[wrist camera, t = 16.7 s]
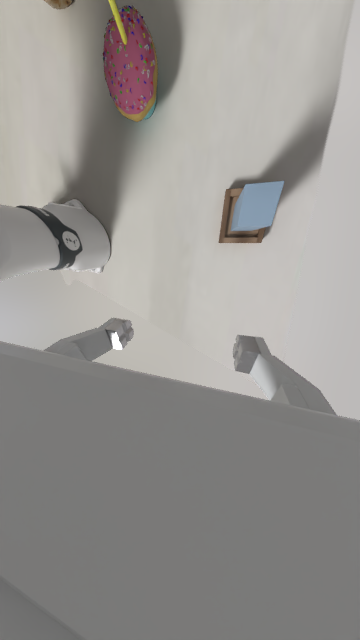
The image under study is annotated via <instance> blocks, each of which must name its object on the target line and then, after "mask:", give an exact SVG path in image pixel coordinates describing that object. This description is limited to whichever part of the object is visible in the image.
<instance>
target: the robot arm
mask: <svg viewBox="0 0 360 640" xmlns="http://www.w3.org/2000/svg"><path fill="white" fill-rule="evenodd" d="M109 257H110V242H109V238H108V235H107V233H106V231H105V229H104V227H103V226H102V224H101V223H100V222H99V221H98V220H97V218H95V217H94V216H93V215H92V214H90V213H89V212H88V211H87V210H86V209H85V207H84V206H83V205H82V203H81V202H80V201H79V200H76V199H72V200H70V201H68V202H66V203H64V204H57V203H49V204H48V205H46V206H44V207H43V208H42V209H40V208H37V207H32V206H17V207H12V206H6V205H0V282H1V281H4V280H6V279H8V278H11V277H14V276H18V275H22V274H26V273H31V272H35V271H40V270H46V269H49V270H60V269H65V270H72V271H77V272H79V271H85V270H87V271H91V272H94V273H101V272H102V270H103V266H104V265H105V264H106V262H107V261H108V259H109ZM131 326H132V324H131V321H130V320H125V319H118V318H111V319H110V320H108V321H107V322H106V323H104V324H103V325H101V326H100V327H99V328H95V329H92V330H88V331H85V332H82V333H80V334H76V335H74V336H70V337H68V338H64V339H61V340H59V341H58V342H56V343H55V344H53V345H52V346H50V347H48V348H47V349H45V350H44V351H42V350H37V349H32V348H28V347H24V346H19V345H15V344H10V343H6V342H2V341H0V640H360V420H356V419H351V418H347V417H342V416H338V415H336V413H335V412H334V410H333V409H332V407H331V406H330V404H329V403H328V401H327V400H326V399H325V397H324V396H323V394H322V393H321V391H320V390H319V389H318V388H317V387H315V386H314V385H312V384H311V383H310V382H309V381H307V380H306V379H305V378H303V377H302V376H301V375H299V374H298V373H296V372H295V371H294V370H293V369H291V368H290V367H289V366H287V365H286V364H285V363H283V362H282V361H281V360H279V359H278V358H277V357H275V356H272V355H271V353H270V351H269V349H268V347H267V345H266V343H265V341H264V339H263V338H262V337H252V336H244V335H237V337H236V343H235V344H234V347H233V358H234V359H235V361H234V365H235V371H239V372H243V373H248V374H249V375H250V376H251V377H252V379H253V380H254V381H255V382H256V384H257V385H258V386H259V387H260V389H261V390H262V391H263V393H264V394H265V395H266V396H267V397H268V399H269V400H270V401H269V400H265V399H260V398H256V397H251V396H246V395H242V394H238V393H233V392H228V391H224V390H219V389H214V388H210V387H206V386H201V385H197V384H192V383H188V382H182V381H179V380H174V379H169V378H165V377H160V376H156V375H151V374H147V373H142V372H137V371H133V370H128V369H124V368H119V367H115V366H110V365H106V364H101V363H97V362H92V360H94V359H96V358H97V357H99V356H101V355H103V354H104V353H106V352H108V351H109V350H111V349H113V348H115V349H121V350H122V349H123V348H124V347H125V346H126V345H127V342H128V341H130V340H131V339H132V338H133V335H134V331H133V329H132V327H131Z"/></svg>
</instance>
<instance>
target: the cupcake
mask: <svg viewBox="0 0 360 640" xmlns="http://www.w3.org/2000/svg"><path fill="white" fill-rule="evenodd" d="M108 1H109V3H110V6H111V9H112V12H113V17H112V18H111V19H110V20H109V23H108V24H107V26H108V27H106V33H105V35H104V38H105V42H104V52H103V56H104V58H103V61H104V72H105V79H106V82H107V85H108V88H109V91H110V95H111V97H112V98H113V101H114V103H115V105H116V107H117V109H118V110H119V111H120V113H121V114H122V115H123V116H125V117H126V118H128V119H132V120H134V121H135V122H138V121H141V120H142V119H148V118H149V117H150V116H151V115H152V113H153V111H154V109H155V105H156V89H157V75H158V66H157V56H156V51H155V47H154V43H153V40H152V37H151V35H150V32H149V30H148V28H147V26H146V24H145V22H144V20H143V16H141V15H140V14H139V12H137V9H135V8H134V6H133V5H132V8H131V7H130V6H124V8H123V7H122V9H121V8H120V9H119V11H118V9H117V6H116V3H115V0H108ZM129 7H130V8H129ZM133 8H134V9H133Z"/></svg>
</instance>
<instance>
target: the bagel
mask: <svg viewBox="0 0 360 640" xmlns="http://www.w3.org/2000/svg"><path fill="white" fill-rule="evenodd" d="M44 1H46V2H47V3H48V4H49V5H50V6H51V7H53V8H56V9H65V8H67V7H68V6H69V5H70V4H71V3H72V1H73V0H44Z"/></svg>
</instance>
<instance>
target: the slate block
mask: <svg viewBox="0 0 360 640" xmlns="http://www.w3.org/2000/svg"><path fill="white" fill-rule="evenodd" d="M283 184H284V181H276V182H265V183H254V184H245V186H244V188H243V190H242V192H241V194H240V196H239V198H238V200H237V202H236V204H235V207H234V213H233V219H232V225H231V231H253V230H256V229H260V228H264V227H268V226H271V225H272V221H273V218H274V215H275V211H276V208H277V205H278V201H279V198H280V194H281V191H282V188H283Z"/></svg>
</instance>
